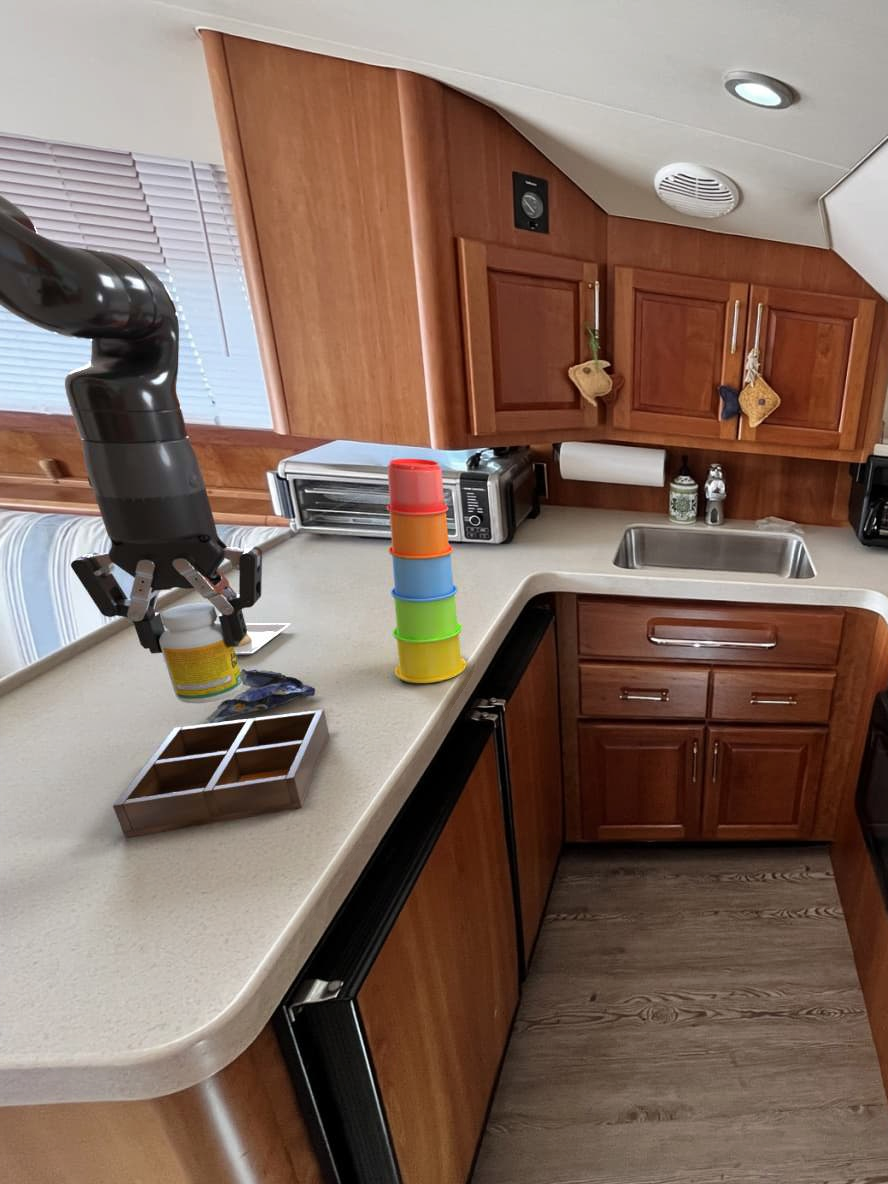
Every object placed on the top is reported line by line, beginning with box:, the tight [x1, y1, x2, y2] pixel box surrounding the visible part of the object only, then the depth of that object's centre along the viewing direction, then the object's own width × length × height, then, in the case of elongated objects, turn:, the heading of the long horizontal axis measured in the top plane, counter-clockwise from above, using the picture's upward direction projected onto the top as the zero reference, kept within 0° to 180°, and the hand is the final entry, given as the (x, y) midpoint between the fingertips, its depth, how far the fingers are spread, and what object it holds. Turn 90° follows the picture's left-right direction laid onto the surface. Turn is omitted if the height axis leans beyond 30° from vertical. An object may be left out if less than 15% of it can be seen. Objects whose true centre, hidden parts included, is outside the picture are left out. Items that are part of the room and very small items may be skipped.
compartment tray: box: [112, 709, 330, 839], centre depth 77 cm, size 15×15×4 cm
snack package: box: [203, 668, 316, 724], centre depth 92 cm, size 12×6×12 cm
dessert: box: [234, 622, 292, 656], centre depth 107 cm, size 12×12×5 cm
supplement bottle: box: [159, 602, 244, 704], centre depth 66 cm, size 5×5×10 cm
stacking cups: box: [386, 458, 467, 684], centre depth 99 cm, size 10×10×35 cm
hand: (198, 646), depth 66 cm, fingers closed on supplement bottle, 5 cm apart
